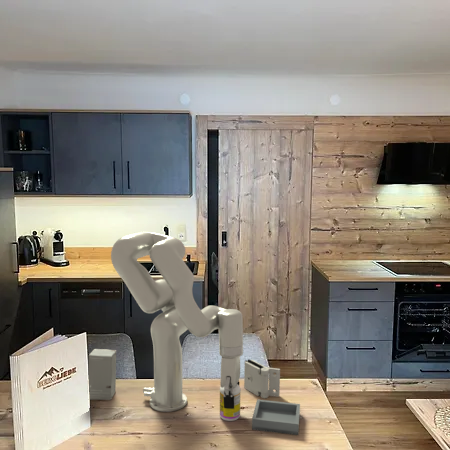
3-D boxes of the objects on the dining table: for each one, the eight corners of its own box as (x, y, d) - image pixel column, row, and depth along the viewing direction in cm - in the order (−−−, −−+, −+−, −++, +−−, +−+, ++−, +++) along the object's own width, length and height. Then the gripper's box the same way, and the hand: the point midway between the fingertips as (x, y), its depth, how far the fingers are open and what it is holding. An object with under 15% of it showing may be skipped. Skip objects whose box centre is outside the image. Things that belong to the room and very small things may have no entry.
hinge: (280, 396, 160) (281, 369, 158) (271, 402, 156) (272, 374, 154) (248, 384, 168) (248, 358, 167) (239, 389, 164) (239, 363, 163)
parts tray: (251, 429, 139) (252, 418, 139) (256, 409, 151) (257, 399, 150) (298, 435, 136) (298, 424, 136) (299, 414, 148) (300, 404, 148)
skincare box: (87, 400, 156) (86, 356, 154) (94, 390, 163) (92, 347, 161) (112, 400, 156) (111, 356, 154) (117, 390, 163) (116, 348, 161)
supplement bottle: (220, 410, 150) (220, 373, 148) (240, 411, 150) (240, 373, 148) (219, 421, 143) (219, 383, 142) (240, 422, 143) (240, 383, 141)
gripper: (224, 338, 153) (225, 386, 155) (213, 359, 136) (214, 413, 138) (246, 339, 151) (247, 388, 153) (238, 360, 134) (239, 415, 136)
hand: (231, 400), depth 146 cm, fingers open, 9 cm apart
